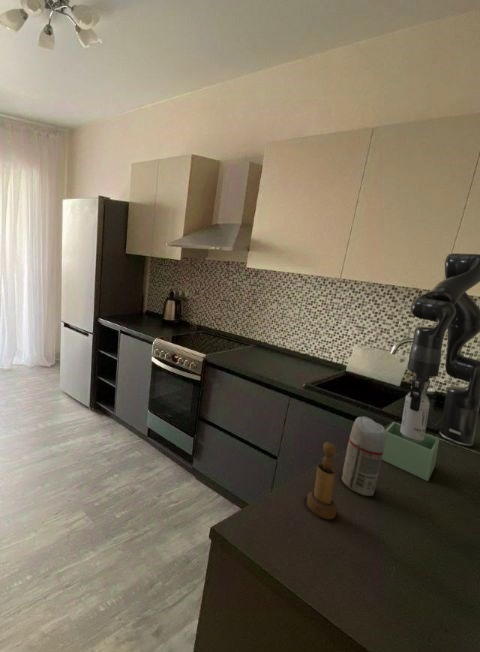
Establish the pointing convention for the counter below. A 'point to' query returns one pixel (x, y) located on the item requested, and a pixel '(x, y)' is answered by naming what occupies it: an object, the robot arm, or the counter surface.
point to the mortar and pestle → (324, 486)
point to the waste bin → (410, 452)
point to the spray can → (364, 456)
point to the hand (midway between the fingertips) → (416, 407)
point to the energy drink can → (415, 419)
